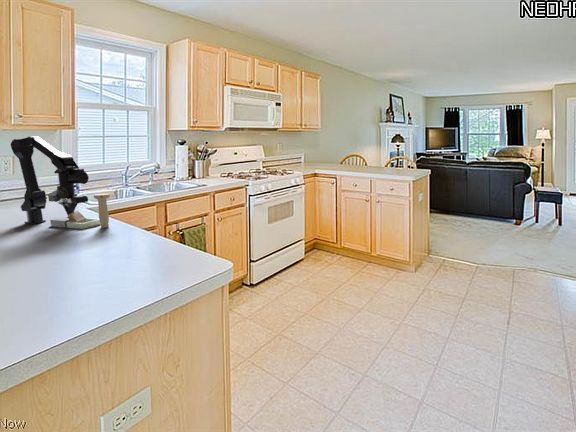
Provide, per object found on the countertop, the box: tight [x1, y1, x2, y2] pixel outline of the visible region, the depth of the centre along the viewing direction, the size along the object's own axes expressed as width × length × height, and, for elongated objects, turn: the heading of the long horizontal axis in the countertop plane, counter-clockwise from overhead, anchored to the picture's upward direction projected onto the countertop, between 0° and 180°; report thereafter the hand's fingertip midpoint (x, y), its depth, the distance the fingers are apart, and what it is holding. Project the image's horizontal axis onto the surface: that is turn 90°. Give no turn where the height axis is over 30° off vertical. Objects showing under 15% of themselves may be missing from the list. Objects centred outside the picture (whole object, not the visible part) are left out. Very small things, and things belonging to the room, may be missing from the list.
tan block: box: [67, 210, 87, 223], centre depth 182 cm, size 5×5×2 cm
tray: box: [66, 217, 101, 230], centre depth 181 cm, size 10×10×2 cm
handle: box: [93, 193, 111, 229], centre depth 177 cm, size 5×6×15 cm
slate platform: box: [50, 216, 70, 228], centre depth 183 cm, size 9×7×3 cm
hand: (70, 216), depth 182 cm, fingers closed
